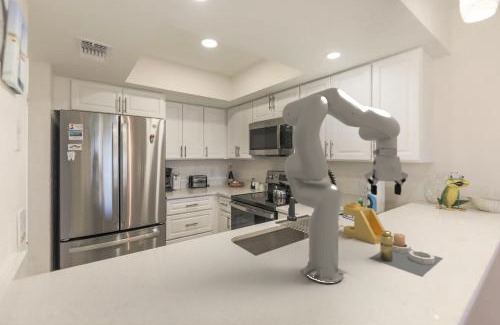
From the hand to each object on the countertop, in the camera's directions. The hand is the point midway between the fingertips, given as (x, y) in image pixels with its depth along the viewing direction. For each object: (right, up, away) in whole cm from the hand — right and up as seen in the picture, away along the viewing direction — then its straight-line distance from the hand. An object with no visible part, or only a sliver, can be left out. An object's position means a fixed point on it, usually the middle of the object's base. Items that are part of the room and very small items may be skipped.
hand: (385, 194), depth 96 cm
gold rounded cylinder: (-5, -23, -9) cm, 25 cm away
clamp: (-2, -24, +17) cm, 29 cm away
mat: (+3, -24, -8) cm, 26 cm away
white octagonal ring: (+8, -23, -9) cm, 26 cm away
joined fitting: (+6, -23, 0) cm, 24 cm away
